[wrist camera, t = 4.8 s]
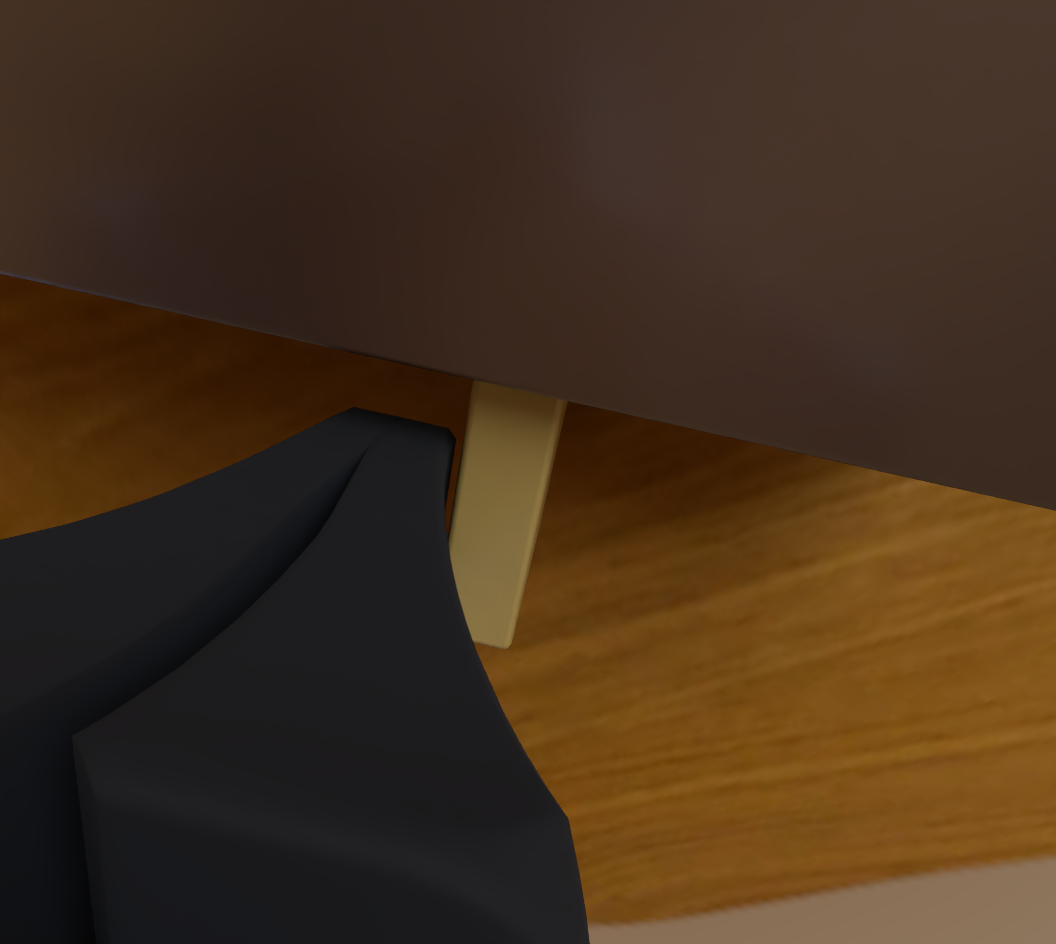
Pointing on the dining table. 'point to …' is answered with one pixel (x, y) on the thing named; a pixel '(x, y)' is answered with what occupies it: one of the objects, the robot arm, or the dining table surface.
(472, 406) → the sliding door
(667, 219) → the cabinet
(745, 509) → the dining table surface
